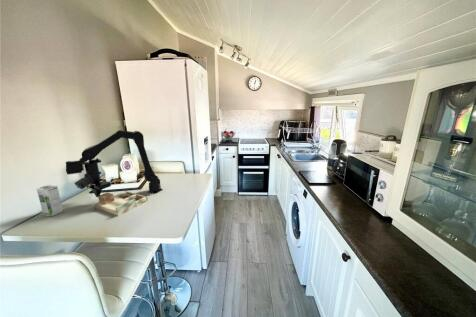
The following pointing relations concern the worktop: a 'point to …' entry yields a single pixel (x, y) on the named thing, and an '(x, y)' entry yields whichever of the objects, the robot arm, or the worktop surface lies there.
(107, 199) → the walnut block
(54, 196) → the syrup box
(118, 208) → the trap board
